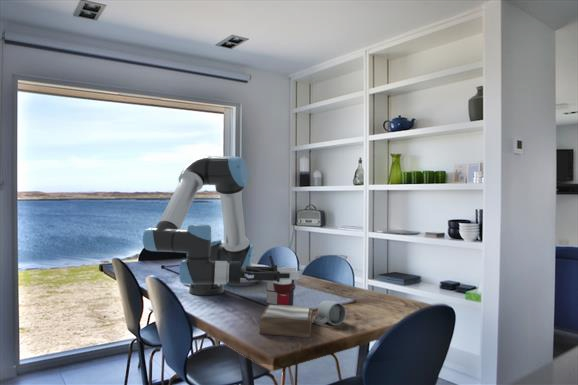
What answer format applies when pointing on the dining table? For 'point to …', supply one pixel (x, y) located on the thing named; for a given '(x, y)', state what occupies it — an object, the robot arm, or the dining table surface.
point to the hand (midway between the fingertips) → (297, 273)
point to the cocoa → (281, 283)
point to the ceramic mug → (330, 313)
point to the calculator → (279, 296)
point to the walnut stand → (286, 320)
